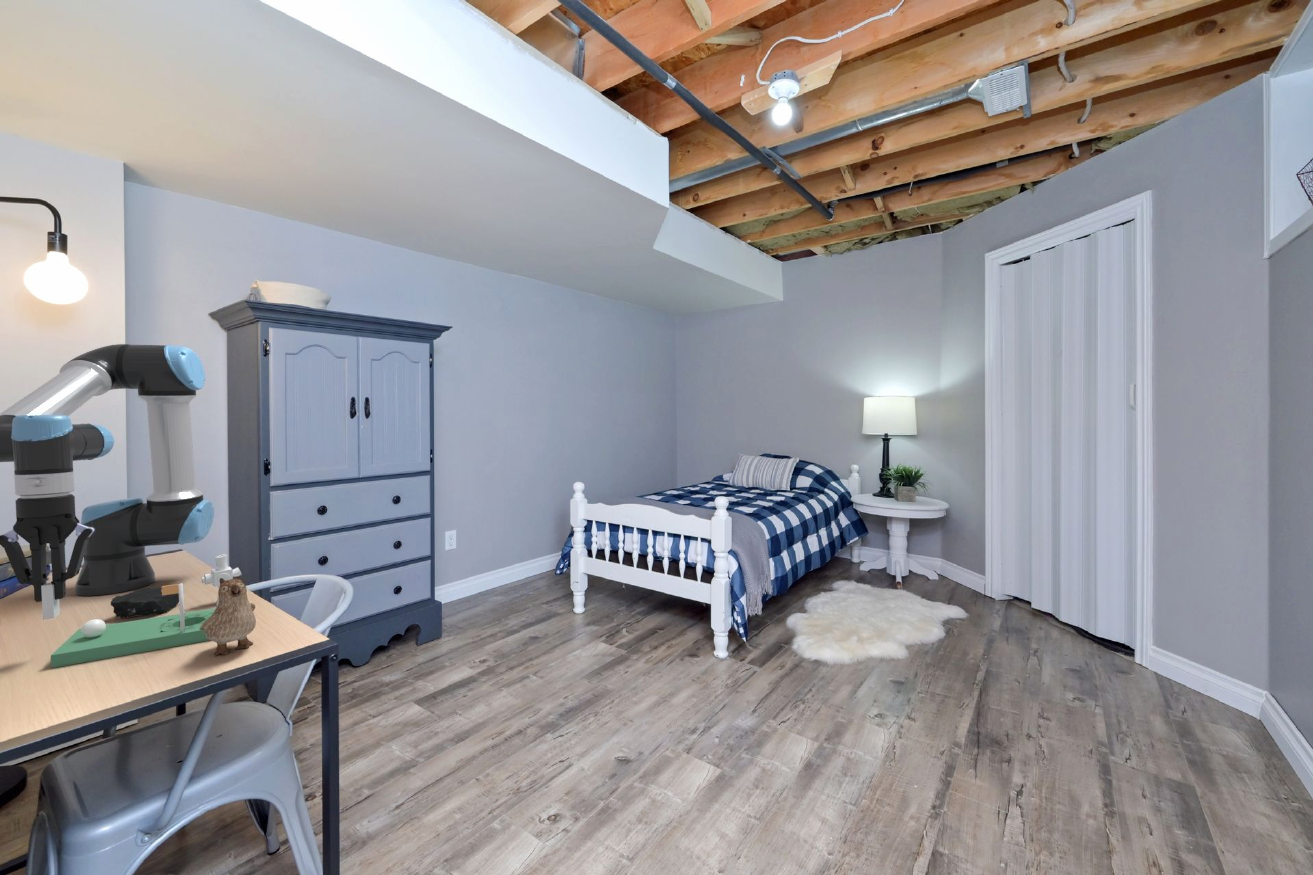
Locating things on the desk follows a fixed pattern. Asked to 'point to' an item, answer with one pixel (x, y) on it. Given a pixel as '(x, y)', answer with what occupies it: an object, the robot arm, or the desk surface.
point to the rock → (144, 602)
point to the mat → (136, 635)
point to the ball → (93, 628)
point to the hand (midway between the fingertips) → (51, 616)
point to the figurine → (231, 617)
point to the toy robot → (220, 573)
